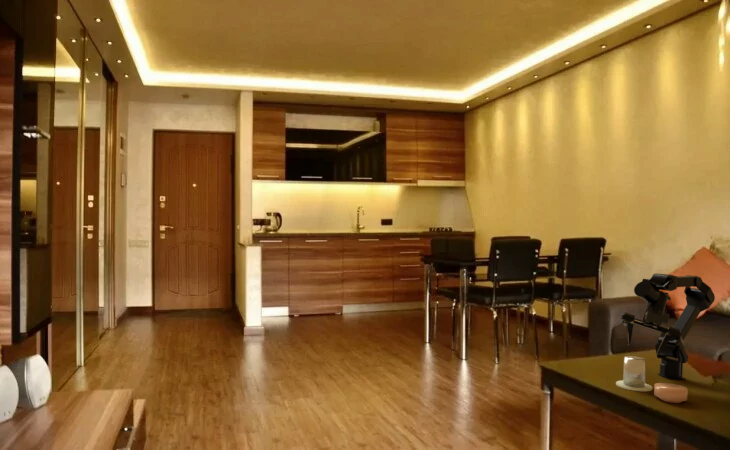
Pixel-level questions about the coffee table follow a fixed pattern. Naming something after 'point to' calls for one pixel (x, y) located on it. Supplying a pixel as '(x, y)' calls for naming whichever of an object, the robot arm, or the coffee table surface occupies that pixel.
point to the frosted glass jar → (634, 371)
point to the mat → (646, 388)
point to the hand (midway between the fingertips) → (643, 349)
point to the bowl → (670, 392)
